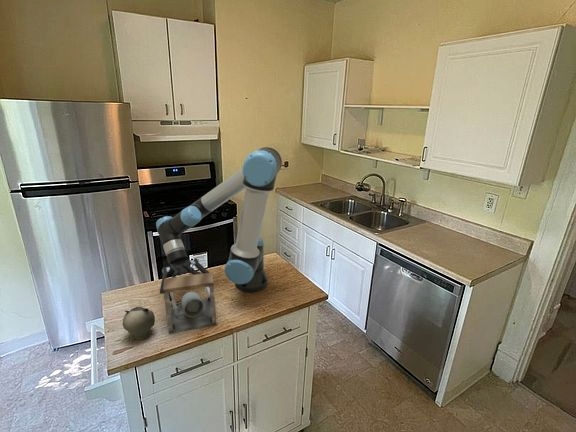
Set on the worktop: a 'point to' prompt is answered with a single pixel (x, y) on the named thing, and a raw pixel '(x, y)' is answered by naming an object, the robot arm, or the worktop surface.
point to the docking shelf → (181, 284)
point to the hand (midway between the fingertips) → (193, 302)
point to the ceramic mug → (190, 305)
